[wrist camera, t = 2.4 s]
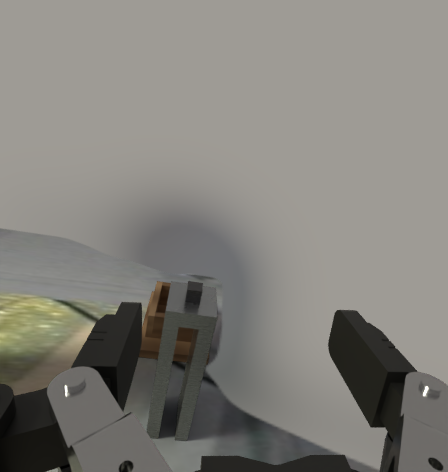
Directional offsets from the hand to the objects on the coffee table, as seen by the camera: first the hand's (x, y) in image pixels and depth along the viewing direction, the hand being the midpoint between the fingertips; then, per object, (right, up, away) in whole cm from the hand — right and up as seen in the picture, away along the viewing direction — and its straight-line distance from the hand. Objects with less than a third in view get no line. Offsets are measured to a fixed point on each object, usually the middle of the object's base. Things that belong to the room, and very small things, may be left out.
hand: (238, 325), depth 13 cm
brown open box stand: (-7, -9, +31) cm, 33 cm away
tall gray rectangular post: (-6, -15, +19) cm, 25 cm away
